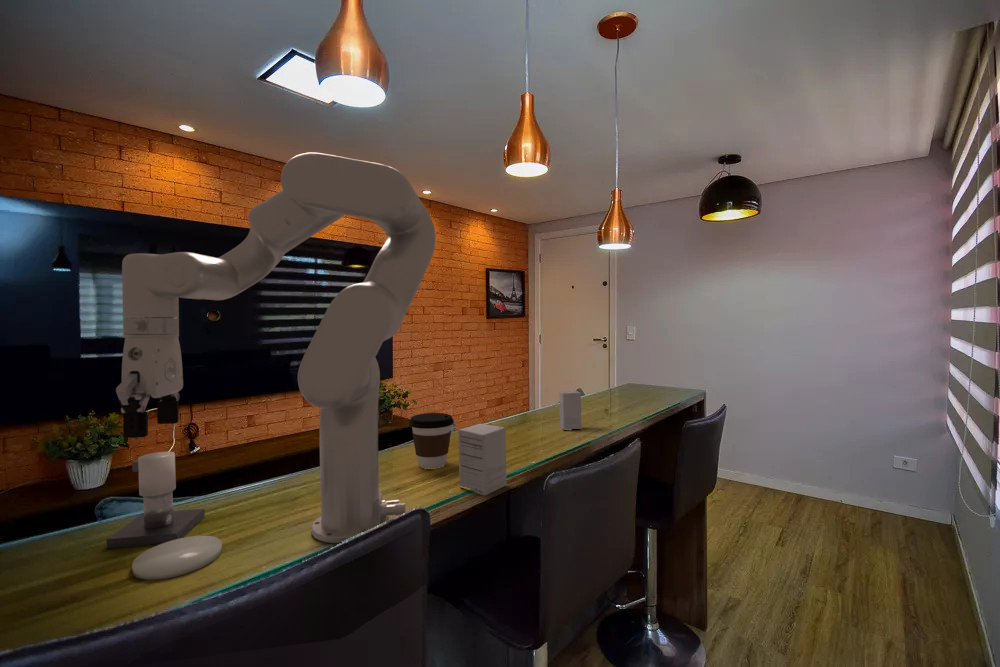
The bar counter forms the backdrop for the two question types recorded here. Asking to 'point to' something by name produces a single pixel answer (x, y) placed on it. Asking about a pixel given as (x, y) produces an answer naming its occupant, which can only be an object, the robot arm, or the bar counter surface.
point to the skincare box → (570, 410)
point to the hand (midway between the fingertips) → (152, 429)
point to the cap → (156, 473)
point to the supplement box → (482, 458)
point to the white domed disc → (176, 557)
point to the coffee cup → (431, 438)
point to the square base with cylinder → (156, 523)
